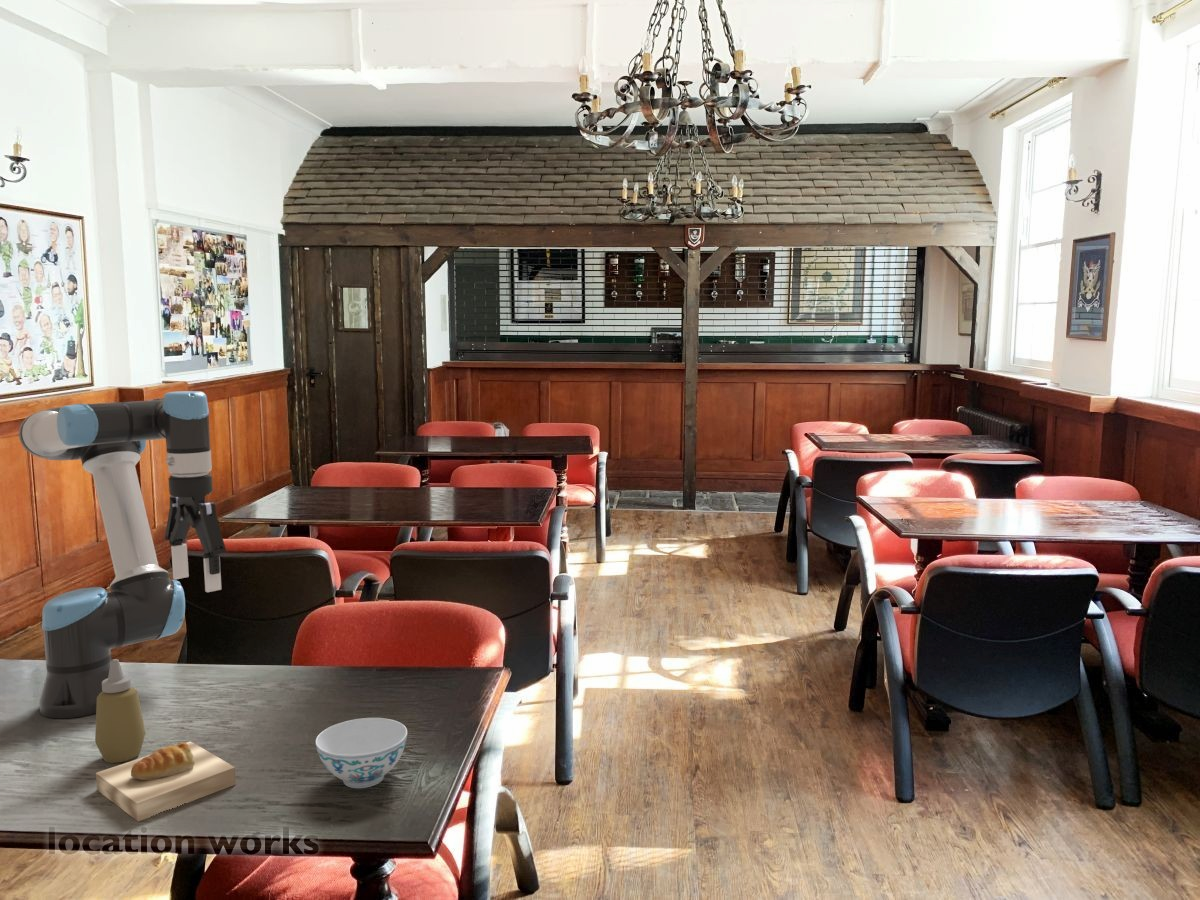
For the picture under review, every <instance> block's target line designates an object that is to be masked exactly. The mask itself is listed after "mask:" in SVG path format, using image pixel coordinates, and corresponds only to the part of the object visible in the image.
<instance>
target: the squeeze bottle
mask: <svg viewBox="0 0 1200 900" xmlns="http://www.w3.org/2000/svg"><path fill="white" fill-rule="evenodd" d="M102 691H103V692H101V693H100V694H99V695H98V696H97V707H96V713H95V740H94V742H95V744H96V747H97V748H98V751H99V753H100V754H101V757H102V759H103V761H104V762H105V763H111V764H115V763H124V762H127V761H128V762H129V761H132V760H134V759H135V758H137V757H138V756H139V755H140V754H141V751H142V746H143V744H144V740H145V737H146V729H145V723H144V718H143V712H142V708H141V703H140V696H139V693H138V690H137V688H135V687H132V678H131V676H129V675H124V672H123V669H122V666H121V663H120V660H119V659H117V658H114V659H111V664H110V670H109V676H108V678H107V679H105V680H103V681H102Z"/></svg>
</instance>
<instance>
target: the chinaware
mask: <svg viewBox="0 0 1200 900" xmlns="http://www.w3.org/2000/svg"><path fill="white" fill-rule="evenodd" d="M407 738H408V729H407V727H406V726H405V725H404V724H403V723H402V722H399V721H397V720H395V719H389V718H386V717H385V718H383V717H365V718H364V717H362V718H355V719H350V720H346V721H343V722H338V723H336V724H334V725H333V724H332V725H331V726H329V727H326V729H324V730H322V731H321V732H320V733H319V734H318V735H317V736H316V739H315V747H316V751H317V754H318V757H319V759H320V760H321V762H322V764H323V765H324V767H325V768H326V770H327V771H328V772H329V773H331V775H333V776H334V777H336V778H338V779H339V780H342V781H343V784H344V785H345V786H347V787H349V788H351V789H366V788H370V787H373V786H375V785H378V784H381V782H382V781H383V780H384V778H385V775H387V773H389V772H390V771H391V770H392V769H393V768H394V767H395V766H396V765H397V763H398V762H399V760H400V759H401V758H402V757H401V756H402V755H403V753H404V750H405V746H406V744H407V743H406V742H407Z"/></svg>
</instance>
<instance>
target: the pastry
mask: <svg viewBox="0 0 1200 900" xmlns="http://www.w3.org/2000/svg"><path fill="white" fill-rule="evenodd" d="M149 755H150V756H148V755H147V756H148V757H145V756H143V757H144V758H143V759H142V760H141V761H139V762H137V763H135V764H134V765H133V767H132V770H131V776H132V777H133V778H136V779H139V780H145V781H146V780H153V779H156V778H163V777H166V776H172V775H176V774H177V773H180V772H181V773H183V772H187V771H189V770H190V769H192V768H193V766H194V764H195V760H194V757H193V754H192V752H191V750H190V747H189V745H188V744H187V742H183V741H179V742H178V743H177V744H176V745H175V744H174V745H168V746H166V747H160V748H159V749H156V750H155V752H153V753H151V754H149Z"/></svg>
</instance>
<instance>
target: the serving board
mask: <svg viewBox="0 0 1200 900" xmlns="http://www.w3.org/2000/svg"><path fill="white" fill-rule="evenodd" d="M186 743H187V744H188V745H189V747H190V750H191V752H192V754H193V757H194V760H195V764H194V766H193V768H192V769H190V770H189V771H187V772H183V773H181V772H180V773H177V774H176V775H172V776H166V777H163V778H156V779H153V780H146V781H145V780H139V779H136V778H133V777H132V776H131V770H132V767H133V765H134V764H135V763H137V762H139V761H141V760H142V759H143V758H144V757H148V756H150V755H151V754H149V755H145V756H143V757H140V758H137V759H132V760H129V761H128V762H127V761H126V762H125V763H124V762H123V763H122V764H119V765H116V766H112V767H110V768H106V769H103V770H100V771H98V772H95V778H96V790H97V791H98V792H99V793H100V794H101V795H102V796H104V797H105V798H107V799H108V800H110V802H112V803H113V804H115V805H116V806H117V807H118V808H120V809H121V810H123V812H125V813H126V814H128V815H129V816H130V817H131V818H133V819H134V820H136V821H137V822H141V821H144V820H146V819H149V818H152V817H154V816H156V815H155V814H157V815H159V814H158V813H160V812H162V813H164V812H163V811H165V810H168V811H170V810H172V808H173V809H175V808H178V807H180V805H181V806H183V805H185V804H184V803H186V804H188V803H191V802H193V801H196V800H198V799H201V798H203V797H206V796H209V795H211V794H215V793H217V792H219V791H222V790H225V789H228V788H230V787H232V786H235V785H236V784H237V779H236V778H237V777H236V767H235V766H233V765H232V764H231V763H228V762H227V761H225V760H224V759H222V758H220V757H218V756H217V755H215V754H213V753H212V752H210V751H208V750H206V749H204V748H203V747H201V746H199V744H196V743H194V742H192V741H191V740H190V741H187V742H186ZM182 804H183V805H182ZM177 806H178V807H177ZM169 809H170V810H169ZM165 812H166V811H165ZM160 814H161V813H160ZM153 815H154V816H153ZM151 816H152V817H151Z"/></svg>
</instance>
